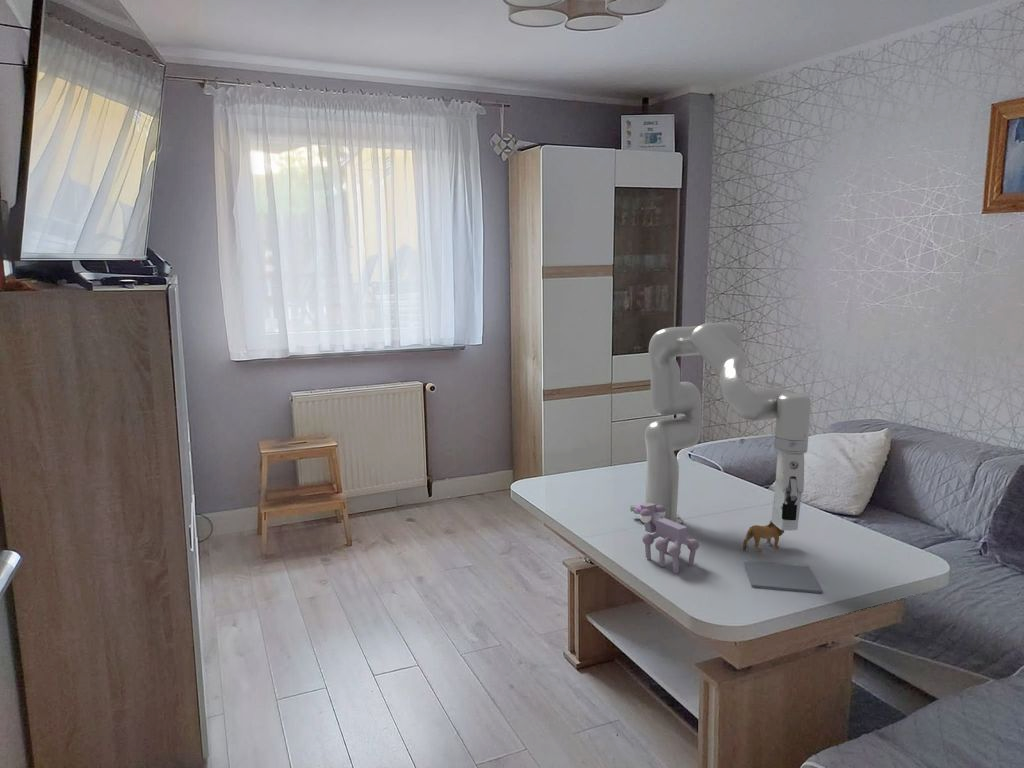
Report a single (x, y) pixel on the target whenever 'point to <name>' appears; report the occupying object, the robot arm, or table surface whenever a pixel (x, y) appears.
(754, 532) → the lion figurine
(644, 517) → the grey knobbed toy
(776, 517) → the skincare box
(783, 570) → the mat
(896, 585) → the table surface
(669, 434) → the robot arm
